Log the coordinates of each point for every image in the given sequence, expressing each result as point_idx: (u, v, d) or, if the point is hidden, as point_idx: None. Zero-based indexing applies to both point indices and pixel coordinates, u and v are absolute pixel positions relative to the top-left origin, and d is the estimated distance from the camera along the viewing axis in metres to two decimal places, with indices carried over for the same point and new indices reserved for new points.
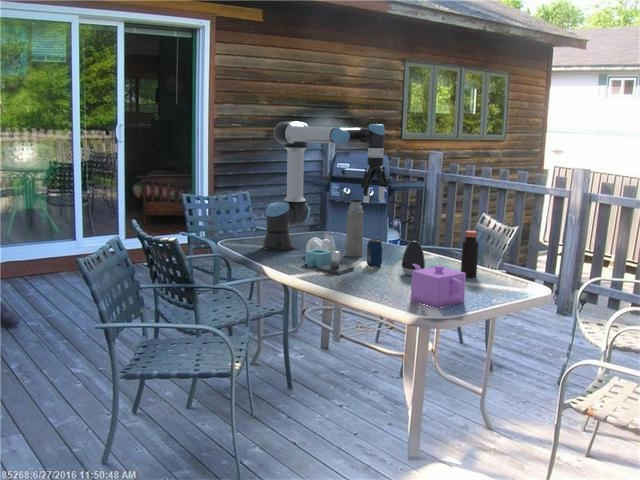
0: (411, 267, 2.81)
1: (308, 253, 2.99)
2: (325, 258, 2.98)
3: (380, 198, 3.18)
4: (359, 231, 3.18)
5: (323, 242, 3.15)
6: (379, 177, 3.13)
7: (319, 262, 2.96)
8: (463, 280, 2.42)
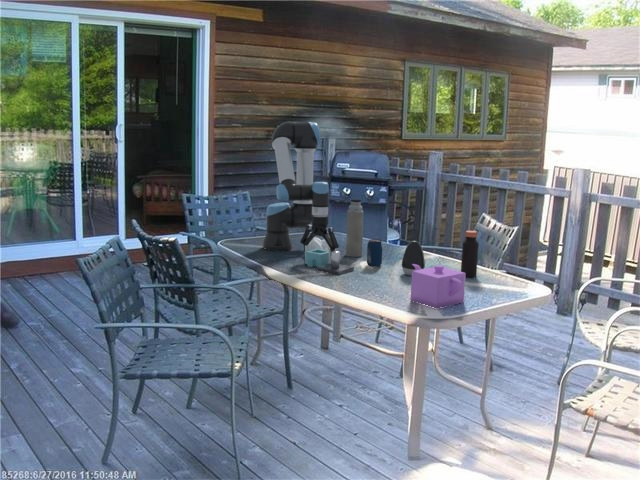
0: (411, 267, 2.81)
1: (308, 253, 2.99)
2: (325, 258, 2.98)
3: None
4: (359, 231, 3.18)
5: (323, 242, 3.15)
6: None
7: (319, 262, 2.96)
8: (463, 280, 2.42)
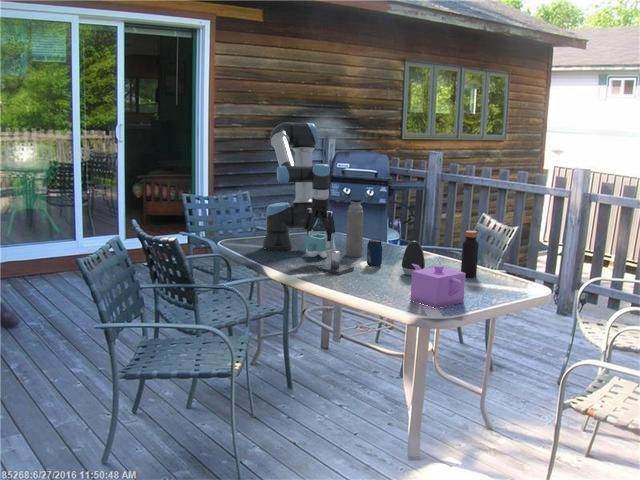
0: (411, 267, 2.81)
1: (308, 237, 2.99)
2: None
3: None
4: (359, 231, 3.18)
5: None
6: None
7: (319, 247, 2.96)
8: (463, 280, 2.42)
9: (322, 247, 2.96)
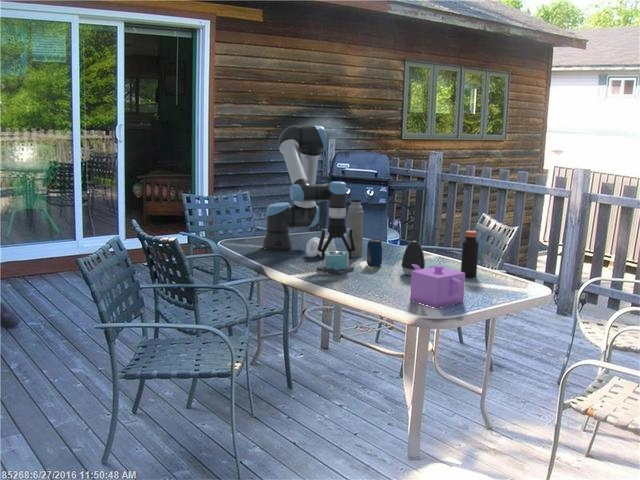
0: (411, 267, 2.81)
1: (330, 256, 2.86)
2: None
3: None
4: (359, 231, 3.18)
5: (323, 242, 3.15)
6: (342, 239, 2.88)
7: (345, 264, 2.87)
8: (462, 280, 2.42)
9: (346, 264, 2.88)
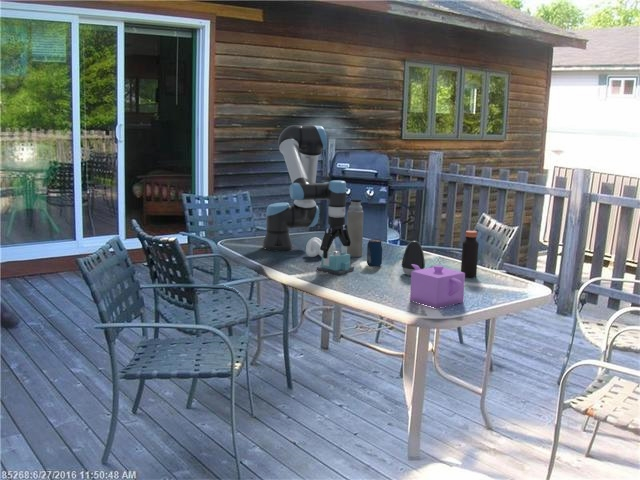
0: (411, 267, 2.81)
1: (339, 257, 2.85)
2: None
3: None
4: (359, 231, 3.18)
5: None
6: (341, 237, 2.91)
7: (348, 263, 2.90)
8: (462, 280, 2.42)
9: None
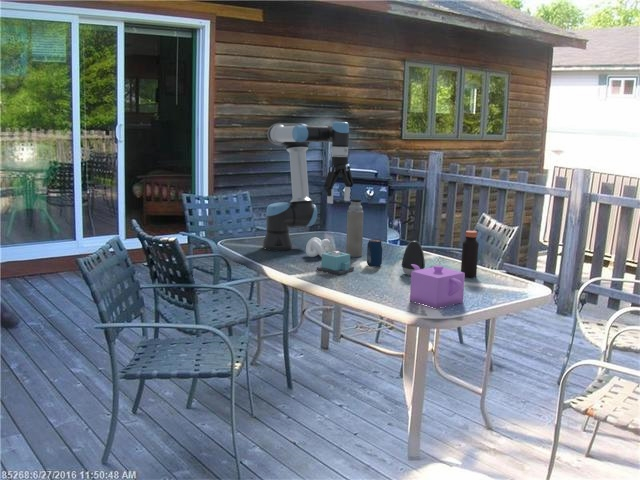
0: (411, 267, 2.81)
1: (339, 257, 2.85)
2: None
3: (346, 199, 3.07)
4: (359, 231, 3.18)
5: (323, 242, 3.15)
6: (344, 177, 3.02)
7: (348, 263, 2.90)
8: (462, 280, 2.42)
9: None
